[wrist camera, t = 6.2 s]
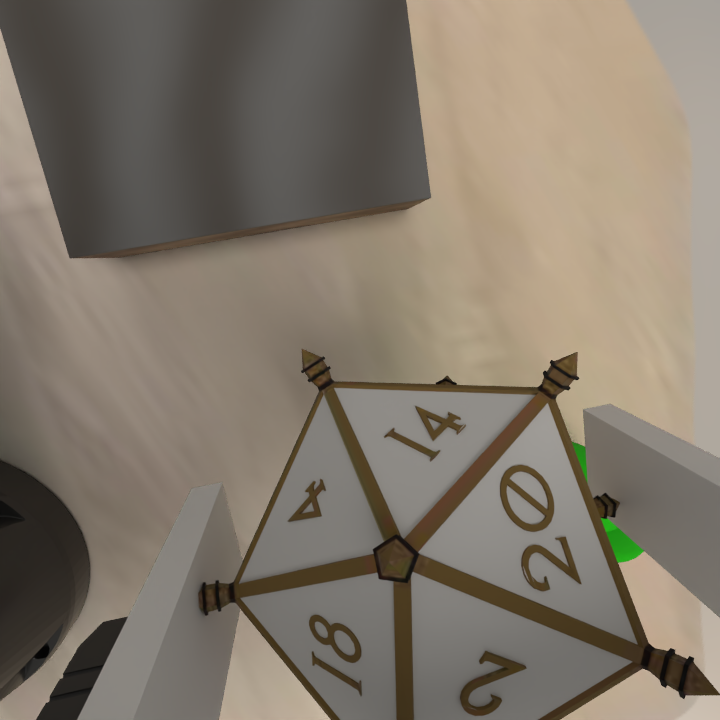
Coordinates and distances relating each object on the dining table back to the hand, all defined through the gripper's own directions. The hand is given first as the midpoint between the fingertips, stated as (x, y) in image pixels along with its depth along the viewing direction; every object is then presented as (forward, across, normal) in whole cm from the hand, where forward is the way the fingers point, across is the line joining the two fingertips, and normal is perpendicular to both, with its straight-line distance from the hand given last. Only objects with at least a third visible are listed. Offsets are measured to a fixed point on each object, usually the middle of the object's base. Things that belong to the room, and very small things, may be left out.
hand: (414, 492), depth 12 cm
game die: (+2, 0, 0) cm, 2 cm away
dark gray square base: (+16, -4, +16) cm, 23 cm away
